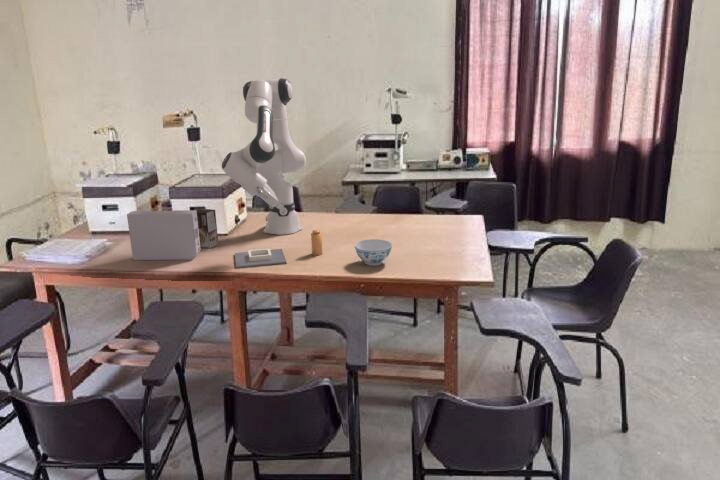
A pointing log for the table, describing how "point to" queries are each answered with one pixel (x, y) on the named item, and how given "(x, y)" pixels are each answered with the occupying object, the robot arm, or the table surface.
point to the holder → (259, 258)
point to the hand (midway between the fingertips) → (282, 207)
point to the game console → (164, 234)
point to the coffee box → (207, 227)
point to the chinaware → (373, 250)
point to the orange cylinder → (316, 242)
